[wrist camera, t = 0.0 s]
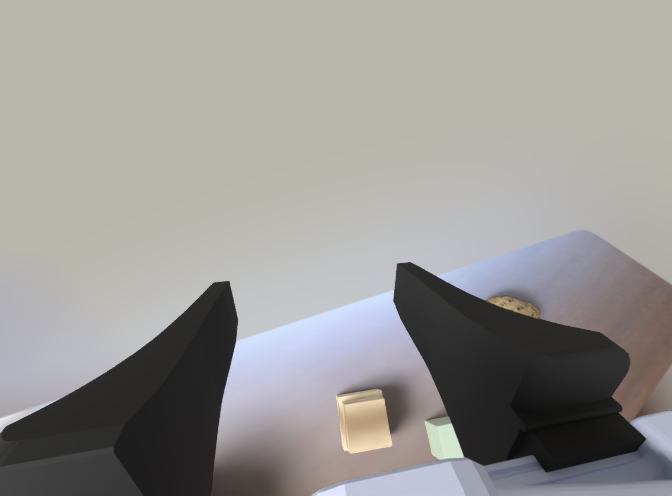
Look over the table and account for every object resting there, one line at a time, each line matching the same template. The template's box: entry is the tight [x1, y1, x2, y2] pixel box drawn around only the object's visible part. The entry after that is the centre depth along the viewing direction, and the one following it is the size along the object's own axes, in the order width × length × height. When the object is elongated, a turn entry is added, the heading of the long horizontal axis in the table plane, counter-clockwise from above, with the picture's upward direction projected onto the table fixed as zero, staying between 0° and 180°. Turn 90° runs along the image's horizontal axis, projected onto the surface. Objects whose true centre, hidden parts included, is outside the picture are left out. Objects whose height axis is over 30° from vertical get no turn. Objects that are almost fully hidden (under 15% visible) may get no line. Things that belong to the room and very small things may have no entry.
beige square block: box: [342, 396, 392, 454], centre depth 35 cm, size 5×5×3 cm
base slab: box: [336, 389, 383, 451], centre depth 38 cm, size 6×6×3 cm
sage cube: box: [425, 416, 464, 460], centre depth 37 cm, size 4×4×4 cm
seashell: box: [487, 296, 540, 319], centre depth 45 cm, size 8×6×10 cm
